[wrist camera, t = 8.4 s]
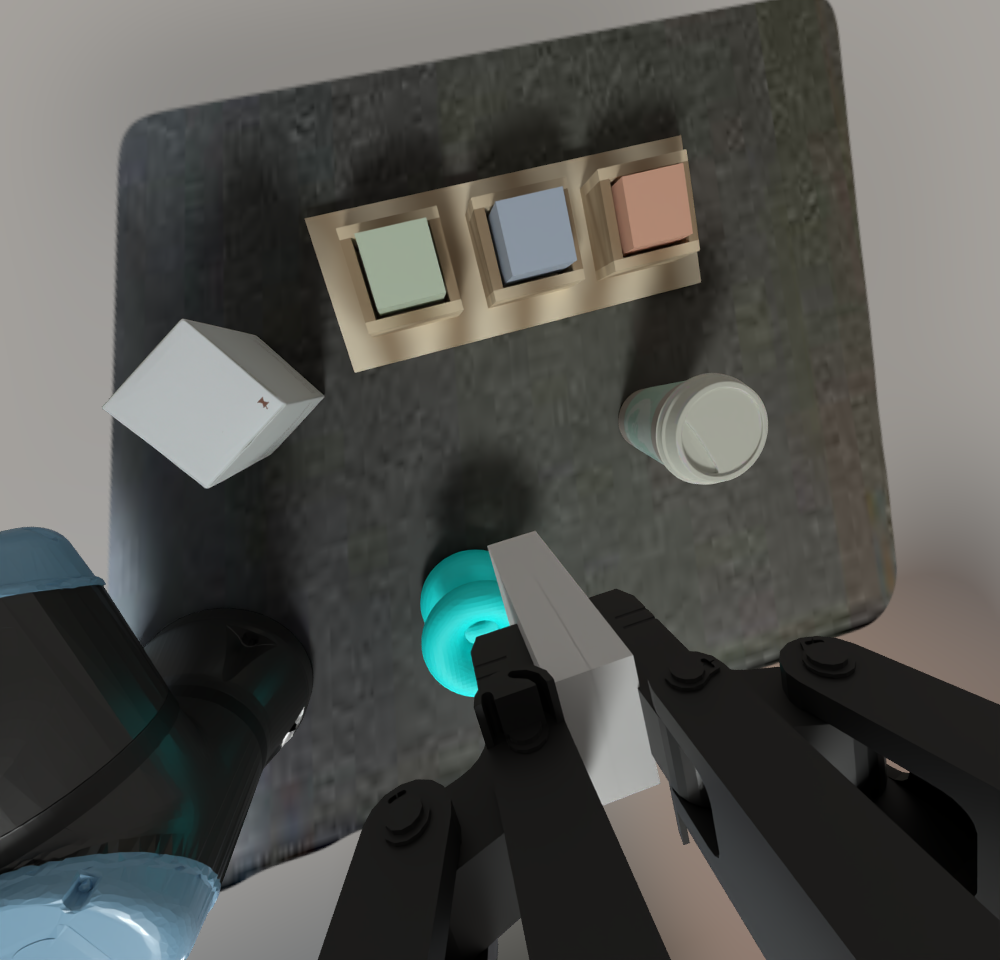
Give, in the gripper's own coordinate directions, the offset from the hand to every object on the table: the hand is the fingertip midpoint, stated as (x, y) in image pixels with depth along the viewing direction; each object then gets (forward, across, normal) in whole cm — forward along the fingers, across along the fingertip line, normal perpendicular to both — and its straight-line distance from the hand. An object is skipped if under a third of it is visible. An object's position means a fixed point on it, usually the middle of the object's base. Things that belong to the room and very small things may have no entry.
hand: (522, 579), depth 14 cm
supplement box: (+31, -14, +8) cm, 35 cm away
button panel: (+30, +10, +14) cm, 35 cm away
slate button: (+27, +10, +14) cm, 32 cm away
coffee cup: (+31, +19, -3) cm, 36 cm away
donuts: (+31, -2, -15) cm, 34 cm away
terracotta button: (+28, +20, +14) cm, 37 cm away
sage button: (+27, 0, +14) cm, 31 cm away
